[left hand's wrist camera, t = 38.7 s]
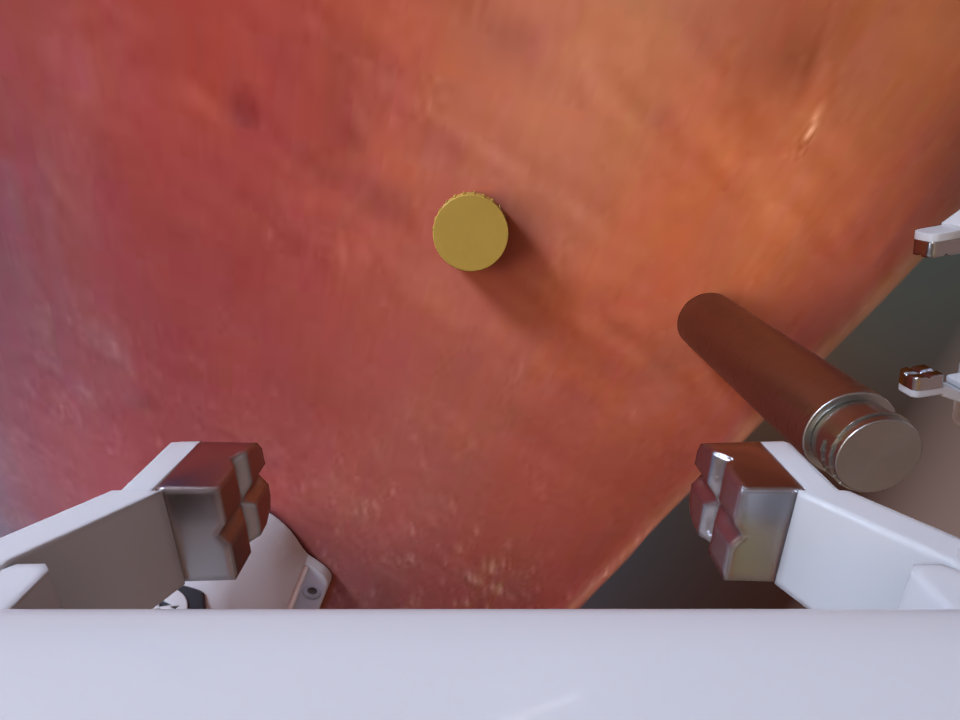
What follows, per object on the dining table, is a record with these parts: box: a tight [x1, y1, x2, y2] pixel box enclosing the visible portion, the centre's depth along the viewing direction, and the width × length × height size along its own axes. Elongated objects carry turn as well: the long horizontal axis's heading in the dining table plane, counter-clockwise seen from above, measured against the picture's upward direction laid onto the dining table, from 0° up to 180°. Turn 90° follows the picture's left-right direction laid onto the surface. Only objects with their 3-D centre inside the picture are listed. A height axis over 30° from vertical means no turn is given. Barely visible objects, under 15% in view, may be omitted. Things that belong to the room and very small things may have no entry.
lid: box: [432, 191, 509, 271], centre depth 37 cm, size 5×5×2 cm
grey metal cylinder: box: [677, 293, 922, 493], centre depth 32 cm, size 4×4×19 cm
